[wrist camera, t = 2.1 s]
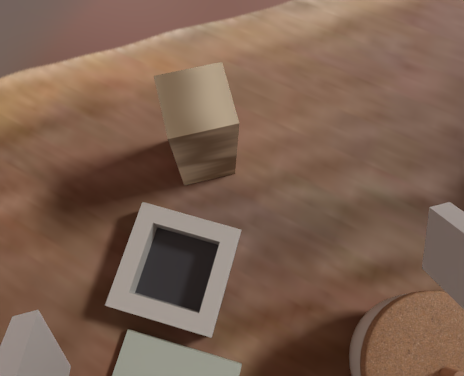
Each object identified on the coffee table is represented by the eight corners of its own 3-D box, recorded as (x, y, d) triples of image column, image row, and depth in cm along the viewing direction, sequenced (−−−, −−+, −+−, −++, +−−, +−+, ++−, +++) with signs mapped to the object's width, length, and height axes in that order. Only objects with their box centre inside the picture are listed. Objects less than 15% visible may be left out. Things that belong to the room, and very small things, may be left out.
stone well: (148, 208, 35) (142, 201, 33) (240, 234, 35) (241, 229, 32) (113, 304, 33) (104, 305, 30) (212, 334, 32) (211, 337, 30)
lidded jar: (379, 266, 34) (435, 255, 25) (481, 350, 32) (580, 371, 23) (307, 363, 32) (339, 389, 23) (411, 459, 30) (492, 529, 21)
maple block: (222, 127, 38) (222, 61, 27) (234, 173, 36) (239, 123, 26) (173, 138, 37) (153, 76, 27) (184, 185, 36) (167, 139, 25)
